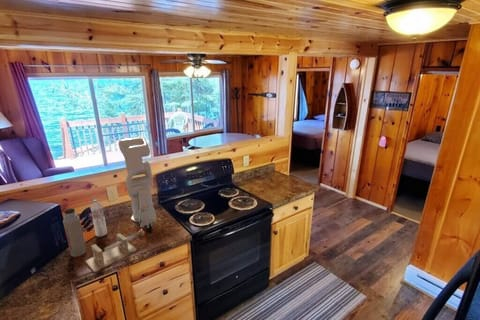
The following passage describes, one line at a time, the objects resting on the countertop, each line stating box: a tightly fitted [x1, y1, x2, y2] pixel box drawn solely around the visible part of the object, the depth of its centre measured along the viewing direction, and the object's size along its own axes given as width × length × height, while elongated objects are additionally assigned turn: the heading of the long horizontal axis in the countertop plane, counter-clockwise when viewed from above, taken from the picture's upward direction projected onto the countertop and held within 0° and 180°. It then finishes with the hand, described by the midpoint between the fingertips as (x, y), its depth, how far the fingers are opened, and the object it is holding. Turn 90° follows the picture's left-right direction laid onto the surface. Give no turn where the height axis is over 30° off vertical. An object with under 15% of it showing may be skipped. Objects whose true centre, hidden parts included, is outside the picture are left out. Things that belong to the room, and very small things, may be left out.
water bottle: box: [90, 199, 108, 238], centre depth 167 cm, size 7×7×25 cm
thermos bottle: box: [62, 208, 87, 258], centre depth 148 cm, size 8×8×28 cm
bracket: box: [84, 233, 137, 273], centre depth 147 cm, size 24×12×10 cm, turn 140°
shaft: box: [103, 228, 146, 252], centre depth 153 cm, size 24×4×4 cm, turn 140°
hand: (149, 232), depth 166 cm, fingers closed
